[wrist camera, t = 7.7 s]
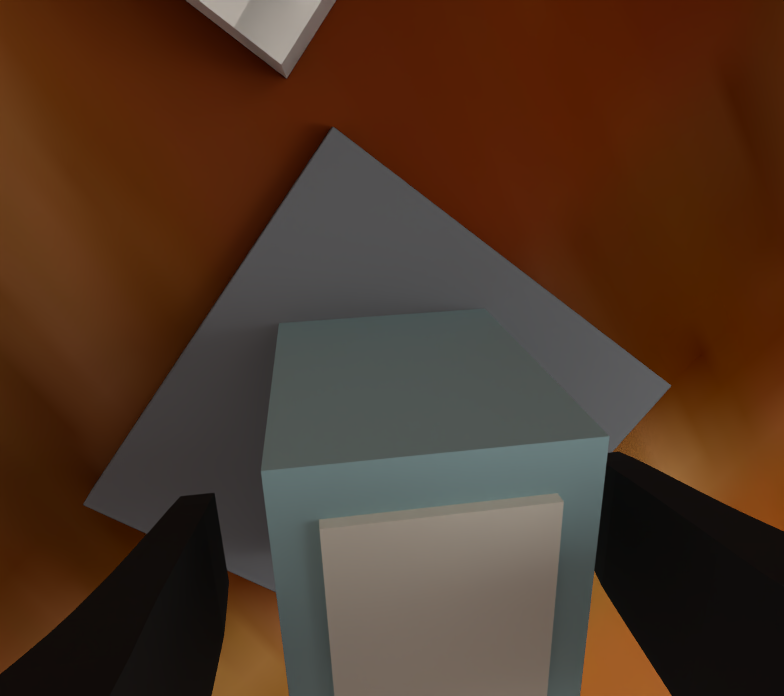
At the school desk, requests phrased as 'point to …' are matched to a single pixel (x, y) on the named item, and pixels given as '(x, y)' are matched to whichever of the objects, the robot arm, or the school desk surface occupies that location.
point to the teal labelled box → (428, 510)
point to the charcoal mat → (338, 301)
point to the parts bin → (269, 26)
